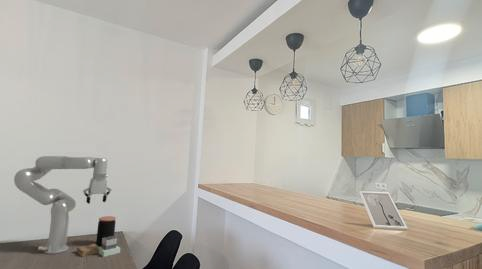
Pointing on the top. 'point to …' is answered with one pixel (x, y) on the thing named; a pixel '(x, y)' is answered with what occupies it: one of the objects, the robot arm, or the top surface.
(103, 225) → the coffee jar
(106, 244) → the housing
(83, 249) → the stand
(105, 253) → the stand
